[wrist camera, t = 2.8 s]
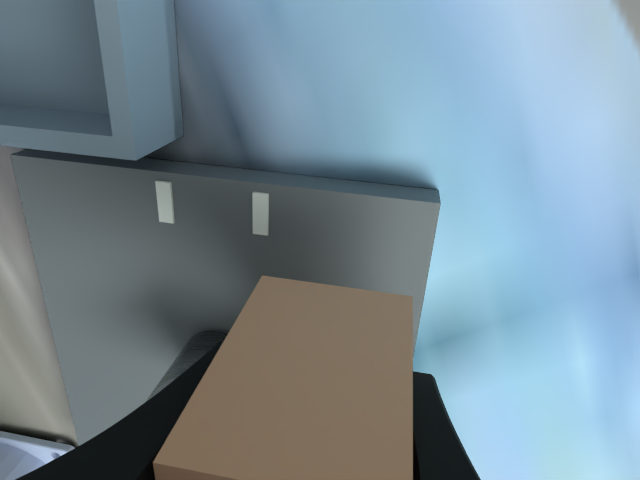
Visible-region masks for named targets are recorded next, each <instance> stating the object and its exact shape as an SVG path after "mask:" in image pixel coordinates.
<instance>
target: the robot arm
mask: <svg viewBox="0 0 640 480" xmlns="http://www.w3.org/2000/svg"><path fill="white" fill-rule="evenodd" d="M223 342H224V341H221V342H219V343H218V344H216V345H215V346H214V347H213V348H212V349H210V350H209V351H208V352H207V353H206V354H205V355H203V356H202V357H201V358H200V359H199V360H198V361H196V362H195V363H194V364H193V365H192V366H190V367H189V368H188V369H187V370H186V371H184V372H183V373H182V374H181V375H180V376H178V377H177V378H176V379H175V380H173V381H172V382H171V383H170V384H168V385H167V386H166V387H165V388H163V389H162V390H161V391H160V392H158V393H157V394H156V395H154V396H153V397H152V398H150V399H149V400H148V401H146V402H145V403H144V404H142V405H141V406H139V407H138V408H137V409H135V410H134V411H133V412H131V413H130V414H128V415H127V416H126V417H124V418H123V419H121V420H120V421H118V422H117V423H115V424H114V425H112V426H111V427H109V428H108V429H106V430H105V431H103V432H101V433H100V434H98V435H97V436H95V437H93V438H92V439H90V440H88V441H87V442H85V443H83V444H82V445H80V446H78V447H76V448H75V447H73V446H71V445H67V444H63V443H58V442H53V441H48V440H43V439H38V438H33V437H28V436H23V435H18V434H13V433H8V432H3V431H0V480H155V474H154V467H153V461H154V460H155V458H156V456H157V454H158V453H159V451H160V449H161V448H162V446H163V444H164V443H165V441H166V439H167V437H168V436H169V434H170V432H171V431H172V429H173V427H174V425H175V424H176V422H177V420H178V419H179V417H180V415H181V413H182V412H183V410H184V408H185V407H186V405H187V403H188V402H189V400H190V398H191V396H192V395H193V393H194V391H195V390H196V388H197V386H198V384H199V383H200V381H201V379H202V378H203V376H204V374H205V372H206V371H207V369H208V367H209V366H210V364H211V362H212V360H213V359H214V357H215V355H216V354H217V352H218V350H219V349H220V347H221V345H222V343H223ZM413 480H481V479H480V478H479V476H478V474H477V472H476V470H475V469H474V467H473V465H472V463H471V461H470V459H469V457H468V455H467V454H466V452H465V449H464V447H463V445H462V443H461V441H460V439H459V437H458V435H457V433H456V431H455V429H454V427H453V425H452V422H451V420H450V418H449V415H448V413H447V411H446V408H445V406H444V403H443V401H442V398H441V396H440V393H439V390H438V387H437V384H436V381H435V378H434V377H433V376H432V375H431V374H426V373H419V372H413Z"/></svg>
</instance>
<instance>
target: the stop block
mask: <svg viewBox="0 0 640 480" xmlns="http://www.w3.org/2000/svg"><path fill="white" fill-rule="evenodd" d="M153 467H154V474H155V480H413V296H407V295H400V294H392V293H385V292H378V291H371V290H364V289H356V288H349V287H342V286H335V285H327V284H320V283H313V282H306V281H299V280H291V279H284V278H277V277H270V276H262V277H261V278H260V280H259V282H258V284H257V285H256V287H255V289H254V290H253V292H252V294H251V296H250V297H249V299H248V301H247V302H246V304H245V306H244V307H243V309H242V311H241V313H240V314H239V316H238V318H237V319H236V321H235V323H234V325H233V326H232V328H231V330H230V331H229V333H228V335H227V337H226V338H225V340H224V342H223V343H222V345H221V347H220V349H219V350H218V352H217V354H216V355H215V357H214V359H213V360H212V362H211V364H210V366H209V367H208V369H207V371H206V372H205V374H204V376H203V378H202V379H201V381H200V383H199V384H198V386H197V388H196V390H195V391H194V393H193V395H192V396H191V398H190V400H189V402H188V403H187V405H186V407H185V408H184V410H183V412H182V413H181V415H180V417H179V419H178V420H177V422H176V424H175V425H174V427H173V429H172V431H171V432H170V434H169V436H168V437H167V439H166V441H165V443H164V444H163V446H162V448H161V449H160V451H159V453H158V454H157V456H156V458H155V460H154V461H153Z"/></svg>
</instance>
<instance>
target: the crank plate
mask: <svg viewBox="0 0 640 480" xmlns="http://www.w3.org/2000/svg"><path fill="white" fill-rule="evenodd" d="M10 157H11V161H12V165H13V169H14V173H15V178H16V182H17V186H18V190H19V195H20V199H21V203H22V207H23V212H24V216H25V220H26V224H27V228H28V233H29V237H30V241H31V245H32V250H33V254H34V258H35V262H36V266H37V271H38V275H39V279H40V283H41V288H42V292H43V296H44V300H45V304H46V309H47V313H48V317H49V321H50V326H51V330H52V334H53V338H54V343H55V347H56V351H57V355H58V359H59V364H60V368H61V372H62V376H63V381H64V385H65V389H66V393H67V397H68V402H69V406H70V410H71V414H72V419H73V423H74V427H75V431H76V435H77V440H78V444H79V446H80V445H82V444H83V443H85V442H87V441H88V440H90V439H92V438H93V437H95V436H97V435H98V434H100V433H101V432H103V431H105V430H106V429H108V428H109V427H111V426H112V425H114V424H115V423H117V422H118V421H120V420H121V419H123V418H124V417H126V416H127V415H128V414H130V413H131V412H133V411H134V410H135V409H137V408H138V407H139V406H141V405H142V404H144V403H145V402H146V400H147V399H148V398H149V396H150V395H151V393H152V392H153V390H154V389H155V387H156V386H157V385H158V383H159V382H160V380H161V379H162V377H163V376H164V375H165V373H166V372H167V370H168V369H169V367H170V366H171V364H172V363H173V362H174V360H175V359H176V357H177V356H178V354H179V353H180V352H181V350H182V349H183V347H184V346H185V344H186V343H187V341H188V340H189V339H190V338H191V337H192V336H193V335H195V334H196V333H198V332H202V331H207V330H214V331H220V332H223V333H226V334H228V333H229V331H230V330H231V328H232V326H233V325H234V323H235V321H236V319H237V318H238V316H239V314H240V313H241V311H242V309H243V307H244V306H245V304H246V302H247V301H248V299H249V297H250V296H251V294H252V292H253V290H254V289H255V287H256V285H257V284H258V282H259V280H260V278H261V277H262V276H270V277H277V278H284V279H291V280H299V281H306V282H313V283H320V284H327V285H335V286H342V287H349V288H356V289H364V290H371V291H378V292H385V293H392V294H400V295H407V296H413V356H414V350H415V345H416V339H417V333H418V328H419V322H420V317H421V311H422V305H423V300H424V294H425V288H426V283H427V277H428V272H429V266H430V260H431V255H432V249H433V243H434V238H435V232H436V227H437V221H438V215H439V210H440V204H441V203H440V196H439V190H434V189H425V188H416V187H406V186H397V185H388V184H379V183H370V182H361V181H352V180H342V179H333V178H324V177H315V176H306V175H297V174H288V173H279V172H269V171H260V170H251V169H242V168H233V167H224V166H215V165H205V164H196V163H187V162H178V161H169V160H160V159H151V158H140V159H138V160H136V161H135V160H126V159H117V158H108V157H99V156H90V155H81V154H72V153H63V152H54V151H45V150H36V149H26V150H23V151H20V152H17V153H14V154H11V155H10Z"/></svg>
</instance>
